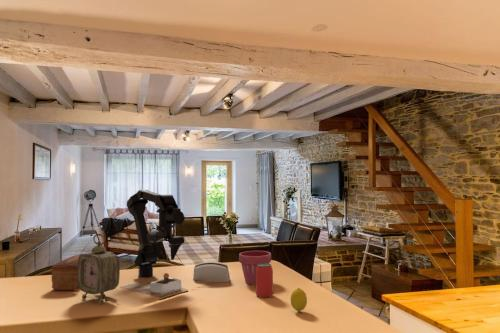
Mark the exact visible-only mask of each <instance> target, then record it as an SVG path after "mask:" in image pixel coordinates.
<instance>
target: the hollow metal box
mask: <svg viewBox="0 0 500 333" xmlns="http://www.w3.org/2000/svg"><path fill="white" fill-rule="evenodd" d="M181 288H182V279H180V278H175V277H170V276H169V282H168V283H164V278H161V279H158V280H155V281H153V282H150V293H153V294H157V295H161V296H163V295H166V294H169V293H172V292H176V291H179V290H181Z"/></svg>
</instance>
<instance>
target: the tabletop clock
mask: <svg viewBox="0 0 500 333" xmlns="http://www.w3.org/2000/svg"><path fill="white" fill-rule="evenodd" d="M97 236H99V237H100V236H101V237H102V239H103V242H101V241H100V240H98V241H96V237H97ZM105 242H106V239H105V236H104V234H102V233H95V234H94V236H93V243H94V244H96V245H95V246H94V247H93V248H92V249H91V252H87V253H80V254H81V255H80V256H79V260H78V286H79V288H78V289H79V290H80V291H81V292H84V293H85V294H83V295H81V299H82V300H85V299H87V295H88V294H90V295H98V294H100V299H99V300H98V304H99V305H102V304H104V299H103V297H106V296H107V295H106V294H105V292H109V291H113V290H115V289H117V287H118V286H119V284H120V274H121V273H120V266H121V265H120V258H119V256H118V255H117V254H115V253H113V252H110V251H107V249H106V247H105V246H104V244H105Z"/></svg>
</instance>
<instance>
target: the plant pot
mask: <svg viewBox="0 0 500 333" xmlns="http://www.w3.org/2000/svg"><path fill="white" fill-rule="evenodd" d="M238 260H239V263H240V264H241V267H242V268H241V270H242V273H243V278H244V283H245V284H248V285H255V286H256V268H257V265H258V264H261V263H268V264H271V262H272V253H271V252H270V251H266V250H246V251H243V252H239V254H238Z"/></svg>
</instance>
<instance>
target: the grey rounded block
mask: <svg viewBox="0 0 500 333" xmlns="http://www.w3.org/2000/svg"><path fill="white" fill-rule="evenodd" d="M192 276H193V278H192V280H193V281H200V282H205V283H229V282H230V280H231V278H230V272H229V267H228V264H226V263H223V262H219V261H204V262H200V263H197V264H195V265H194V268H193V275H192Z"/></svg>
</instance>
